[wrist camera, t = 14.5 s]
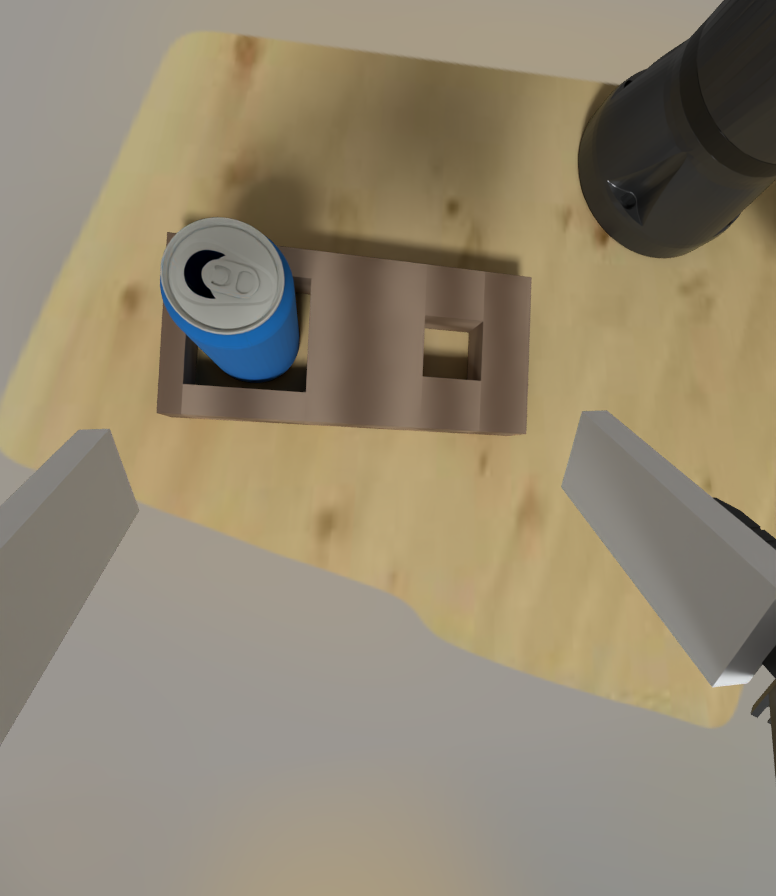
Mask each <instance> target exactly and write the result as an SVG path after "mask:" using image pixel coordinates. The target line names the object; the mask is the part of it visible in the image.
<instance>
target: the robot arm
mask: <svg viewBox="0 0 776 896" xmlns="http://www.w3.org/2000/svg"><path fill="white" fill-rule="evenodd" d="M579 175H580V181H581V186H582V189H583V193H584V196H585V199H586V201H587V203H588V206H589V208H590V210H591V212H592V213H593V215H594V217H595V218H596V220H597V221H598V222H599V224H600V225H601V226H602V228H603V229H604V230H605V231H606V232H607V233H608V234H609V235H610V236H611V237H612V238H613V239H615V240H616V241H617V242H618V243H620V244H621V245H623V246H624V247H626V248H628V249H629V250H631V251H634V252H636V253H638V254H641V255H644V256H648V257H654V258H672V257H677V256H681V255H684V254H687V253H689V252H691V251H693V250H695V249H697V248H698V247H700V246H702V245H704V244H706V243H708V242H709V241H711V240H713V239H715V238H716V237H718V236H719V235H720V234H722V233H723V232H724V231H725V230H726V229H727V228H729V227H730V225H731V224H732V223H733V222H734V221H735V220H736V219H737V218H738V216H739V215H740V214H741V212H742V211H743V210H744V209H745V208H746V207H747V206H749V205H750V204H751V203H752V202H753V201H754V200H755V199H756V198H757V197H758V196H759V195H760V194H761V193H762V192H763V191H764V190H765V189H766V188H767V187H768V186H769V185H770V184H771V183H773V182H774V181H775V180H776V0H724V1H723V2H722V3H721V4H720V5H719V6H718V7H717V9H716V10H715V11H714V12H713V13H712V14H711V16H710V17H709V18H708V19H707V20H706V21H705V22H704V23H703V24H702V25H701V26H700V27H699V29H698V30H697V31H696V32H695V33H694V34H693V35H692V36H691V37H690V38H689V39H688V40H686V41H685V42H683V43H682V44H680V45H679V46H677V47H676V48H674V49H673V50H671V51H670V52H668V53H667V54H665V55H664V56H662V57H661V58H660V59H658V60H657V61H656V62H654V63H653V64H652V65H651V66H650V67H649V68H648V69H645V70H643V71H641V72H638V73H636V74H635V75H633V76H631V77H630V78H628V79H627V80H626V81H624V82H623V83H622V84H620V85H619V86H618V87H617V88H616V89H615V90H614V91H613V92H612V93H611V94H610V96H609V97H608V98H607V99H606V100H605V102H604V103H603V104H602V105H601V106H600V108H599V109H598V110H597V111H596V113H595V114H594V115H593V117H592V118H591V119H590V121H589V123H588V125H587V127H586V129H585V132H584V134H583V137H582V141H581V145H580V151H579ZM561 487H562V489H563V490H564V491H565V493H566V494H567V495H568V497H569V498H570V499H571V501H572V502H573V503H574V505H575V506H576V507H577V509H578V510H579V511H580V513H581V514H582V515H583V517H584V518H585V519H586V521H587V522H588V523H589V524H590V526H591V527H592V528H593V530H594V531H595V532H596V534H597V535H598V536H599V538H600V539H601V540H602V542H603V543H604V544H605V546H606V547H607V548H608V550H609V551H610V552H611V554H612V555H613V556H614V558H615V559H616V560H617V562H618V563H619V564H620V566H621V567H622V568H623V569H624V571H625V572H626V573H627V575H628V576H629V577H630V579H631V580H632V581H633V583H634V584H635V585H636V587H637V588H638V589H639V591H640V592H641V593H642V595H643V596H644V597H645V599H646V600H647V601H648V603H649V604H650V605H651V607H652V608H653V609H654V611H655V612H656V613H657V614H658V616H659V617H660V618H661V620H662V621H663V622H664V624H665V625H666V626H667V628H668V629H669V630H670V632H671V633H672V634H673V636H674V637H675V638H676V640H677V641H678V642H679V644H680V645H681V646H682V648H683V649H684V650H685V652H686V653H687V654H688V656H689V657H690V658H691V660H692V661H693V662H694V663H695V665H696V666H697V667H698V669H699V670H700V671H701V673H702V674H703V675H704V677H705V678H706V679H707V681H708V682H709V683H710V685H711V686H712V687H718V686H727V685H736V684H745V683H748V682H749V681H750V680H751V678H752V677H753V676H754V675H755V673H756V672H757V671H758V669H759V668H760V667H761V666H762V664H763V665H764V666H765V667H766V668H767V670H768V671H769V672H770V673H771V674H772V675H773V676H774V677H775V678H776V539H775V538H774V537H773V536H771V535H770V534H769V533H768V532H766V531H765V530H761V529H760V526H759V525H758V524H756V523H755V522H754V521H753V520H751V519H750V518H749V517H748V516H746V515H745V514H744V513H743V512H741V511H740V510H738V509H736V508H734V507H733V506H731V505H729V504H727V503H725V502H723V501H721V500H719V499H717V498H712V497H711V496H710V495H708V494H707V493H706V492H705V491H704V490H702V489H701V488H700V487H699V486H698V485H696V484H695V483H694V482H693V481H692V480H690V479H689V478H688V477H687V476H685V475H684V474H683V473H682V472H681V471H679V470H678V469H677V468H676V467H675V466H673V465H672V464H671V463H670V462H669V461H667V460H666V459H665V458H664V457H662V456H661V455H660V454H659V453H658V452H656V451H655V450H654V449H653V448H652V447H650V446H649V445H648V444H647V443H646V442H644V441H643V440H642V439H641V438H639V437H638V436H637V435H636V434H635V433H633V432H632V431H631V430H630V429H629V428H627V427H626V426H625V425H624V424H622V423H621V422H620V421H619V420H618V419H616V418H615V417H614V416H613V415H612V414H610V413H609V412H608V411H607V410H606V411H582V414H581V417H580V421H579V425H578V428H577V432H576V435H575V439H574V443H573V446H572V450H571V453H570V457H569V461H568V464H567V468H566V471H565V475H564V479H563V482H562V486H561ZM138 512H139V508H138V505H137V503H136V500H135V497H134V494H133V492H132V489H131V486H130V483H129V481H128V478H127V475H126V472H125V470H124V467H123V464H122V461H121V459H120V456H119V453H118V450H117V448H116V445H115V442H114V439H113V437H112V434H111V431H110V429H90V430H78V431H77V432H76V433H75V434H74V435H73V436H72V437H71V438H70V439H69V440H68V441H67V442H66V443H65V444H64V445H63V446H62V447H61V448H60V449H59V450H57V451H56V452H55V453H54V454H53V455H52V456H51V457H50V458H49V459H48V460H47V461H46V462H45V463H44V464H43V465H42V466H41V467H40V468H39V469H38V470H37V471H36V472H35V473H34V474H33V475H32V476H31V477H30V478H29V479H28V480H27V481H26V482H25V483H24V484H23V485H21V487H19V488H18V490H16V491H15V492H14V493H13V494H12V495H11V496H10V497H9V498H8V499H7V500H6V501H5V502H4V503H3V504H2V505H1V506H0V745H1V744H2V742H3V740H4V738H5V737H6V735H7V734H8V732H9V730H10V728H11V727H12V725H13V724H14V722H15V720H16V718H17V717H18V715H19V713H20V712H21V710H22V708H23V707H24V705H25V703H26V702H27V700H28V698H29V696H30V695H31V693H32V691H33V690H34V688H35V686H36V685H37V683H38V681H39V679H40V678H41V676H42V674H43V672H44V671H45V669H46V668H47V666H48V664H49V663H50V661H51V659H52V657H53V656H54V654H55V652H56V651H57V649H58V647H59V645H60V644H61V642H62V641H63V639H64V637H65V635H66V634H67V632H68V630H69V629H70V627H71V625H72V624H73V622H74V620H75V618H76V617H77V615H78V613H79V611H80V610H81V608H82V607H83V605H84V603H85V601H86V600H87V598H88V596H89V595H90V593H91V591H92V590H93V588H94V586H95V585H96V583H97V581H98V579H99V578H100V576H101V574H102V573H103V571H104V569H105V567H106V566H107V564H108V562H109V561H110V559H111V557H112V556H113V554H114V552H115V551H116V549H117V547H118V546H119V544H120V542H121V541H122V539H123V537H124V535H125V534H126V532H127V530H128V529H129V527H130V525H131V523H132V522H133V520H134V518H135V517H136V515H137V513H138ZM766 707H770V716H771V718H770V719H769V720H768V723H770V724H771V728H772V740H773V752H774V763H775V776H776V679H775V680H774V681H773V682H772V684H771V685H770V686H769V687H768V689H766V691H765V692H764V693H763V694H762V695H761V697H760V698H759V699H758V700H757V701H756V703H755V704H754V705H753V707H752V711H751V715H753V716H755V717H758V716H759V715H760V714H761V713H762V712H763V711H764V709H765V708H766Z"/></svg>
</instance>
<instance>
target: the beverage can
mask: <svg viewBox="0 0 776 896" xmlns="http://www.w3.org/2000/svg"><path fill="white" fill-rule="evenodd" d="M160 288H161V294H162V298H163V302H164V305H165V307H166V309H167V311H168V313H169V315H170V317H171V318H172V320H173V321H174V322H175V323H176V325H177V326H178V327H179V328H180V329H181V330H182V331H183V332H184V333H185V334H186V335H187V336H188V337H189V338H190V339H191V340H192V341H193V342H194V343H195V344H196V345H197V346H198V347H199V348H200V349H201V350H203V351H204V352H205V353H206V354H207V355H208V356H209V357H210V358H211V359H212V360H213V361H214V362H215V363H216V364H217V365H218V366H219V367H220V368H221V369H222V370H223V371H224V372H225V373H227V374H228V375H230V376H231V377H233V378H235V379H238V380H240V381H244V382H249V383H261V382H267V381H270V380H273V379H275V378H277V377H279V376H281V375H282V374H283V373H285V372H286V371H287V370H288V369H289V368H290V366H291V365H292V364H293V362H294V360H295V358H296V356H297V353H298V350H299V328H298V319H297V309H296V299H295V289H294V280H293V276H292V272H291V269H290V266H289V264H288V262H287V260H286V258H285V257H284V255H283V254H282V252H281V251H280V250H279V248H278V247H277V246H276V245H275V244H274V243H273V242H272V241H271V240H270V239H268V238H267V237H266V236H265V235H263V234H262V233H261V232H260V231H258V230H257V229H255V228H254V227H252V226H250V225H248V224H246V223H244V222H241V221H238V220H235V219H231V218H223V217H212V218H206V219H202V220H198V221H195V222H193V223H191V224H189V225H187V226H186V227H184V228H182V229H181V230H180V231H179V232H178V233H177V234H176V235H175V236H174V237H173V238H172V239H171V241H170V242H169V243H168V245H167V247H166V249H165V251H164V254H163V257H162V261H161V275H160Z"/></svg>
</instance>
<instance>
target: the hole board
mask: <svg viewBox="0 0 776 896" xmlns="http://www.w3.org/2000/svg"><path fill="white" fill-rule="evenodd" d="M176 234H177V233H170V232H167V244H166V247H167V245H168V243H169V242H170V241H171V239H172V238H173V237H174V236H175V235H176ZM277 247H278V248H279V250H280V251H281V252H282V254H283V255H284V257H285V258H286V260H287V262H288V264H289V266H290V269H291V272H292V276H293V280H294V289H295V293H303V294H311V298H310V318H309V339H308V359H307V380H306V392H291V391H277V390H262V389H248V388H233V387H218V386H204V385H195V380H196V363H197V345H196V344H195V343H194V342H193V341H192V340H191V339H190V338H189V337H188V336H187V335H186V334H185V333H184V332H183V331H182V330H181V329H180V328H179V327H178V326H177V325H176V323H175V322H174V321H173V320H172V318H171V317H170V315H169V313H168V311H167V309H166V307H165V305H164V302H163V313H162V330H161V347H160V364H159V381H158V398H157V413H159V414H162V415H166V416H169V417H180V418H198V419H216V420H234V421H252V422H269V423H287V424H305V425H323V426H341V427H359V428H377V429H395V430H413V431H431V432H449V433H467V434H485V435H503V436H511V435H521V434H526V425H527V395H528V366H529V337H530V307H531V278H532V277H525V276H516V275H508V274H500V273H492V272H484V271H476V270H468V269H460V268H452V267H444V266H436V265H428V264H420V263H412V262H404V261H396V260H388V259H380V258H372V257H364V256H356V255H347V254H339V253H331V252H323V251H315V250H307V249H299V248H291V247H283V246H277ZM424 328H428V329H438V330H449V331H459V332H469V345H468V372H467V380H462V379H449V378H437V377H424V376H423V351H424Z"/></svg>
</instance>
